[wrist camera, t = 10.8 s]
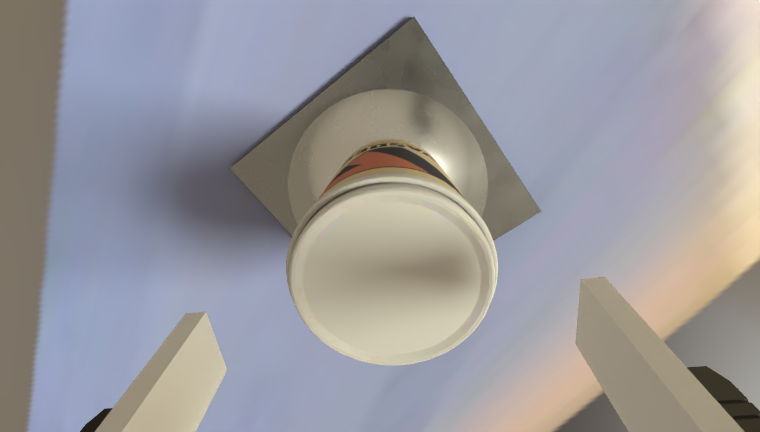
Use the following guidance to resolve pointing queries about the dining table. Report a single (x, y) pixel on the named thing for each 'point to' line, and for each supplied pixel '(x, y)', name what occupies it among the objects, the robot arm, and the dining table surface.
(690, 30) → the dining table surface
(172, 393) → the robot arm
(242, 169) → the flange plate
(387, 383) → the dining table surface
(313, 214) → the coffee cup
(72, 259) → the dining table surface
